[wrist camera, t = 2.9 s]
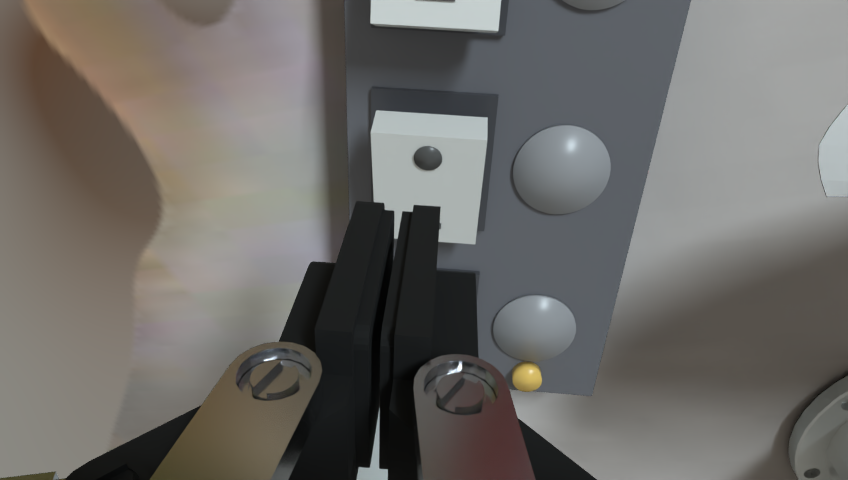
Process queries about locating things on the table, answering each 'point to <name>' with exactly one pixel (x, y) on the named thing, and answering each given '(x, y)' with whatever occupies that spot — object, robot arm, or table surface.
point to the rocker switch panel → (533, 160)
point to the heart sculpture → (835, 157)
